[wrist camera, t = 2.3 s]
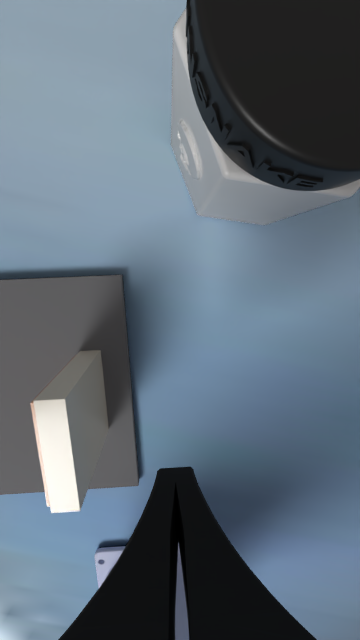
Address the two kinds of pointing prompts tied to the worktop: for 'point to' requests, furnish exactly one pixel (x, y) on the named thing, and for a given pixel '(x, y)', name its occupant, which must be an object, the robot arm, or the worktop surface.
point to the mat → (50, 358)
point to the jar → (266, 106)
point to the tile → (71, 430)
